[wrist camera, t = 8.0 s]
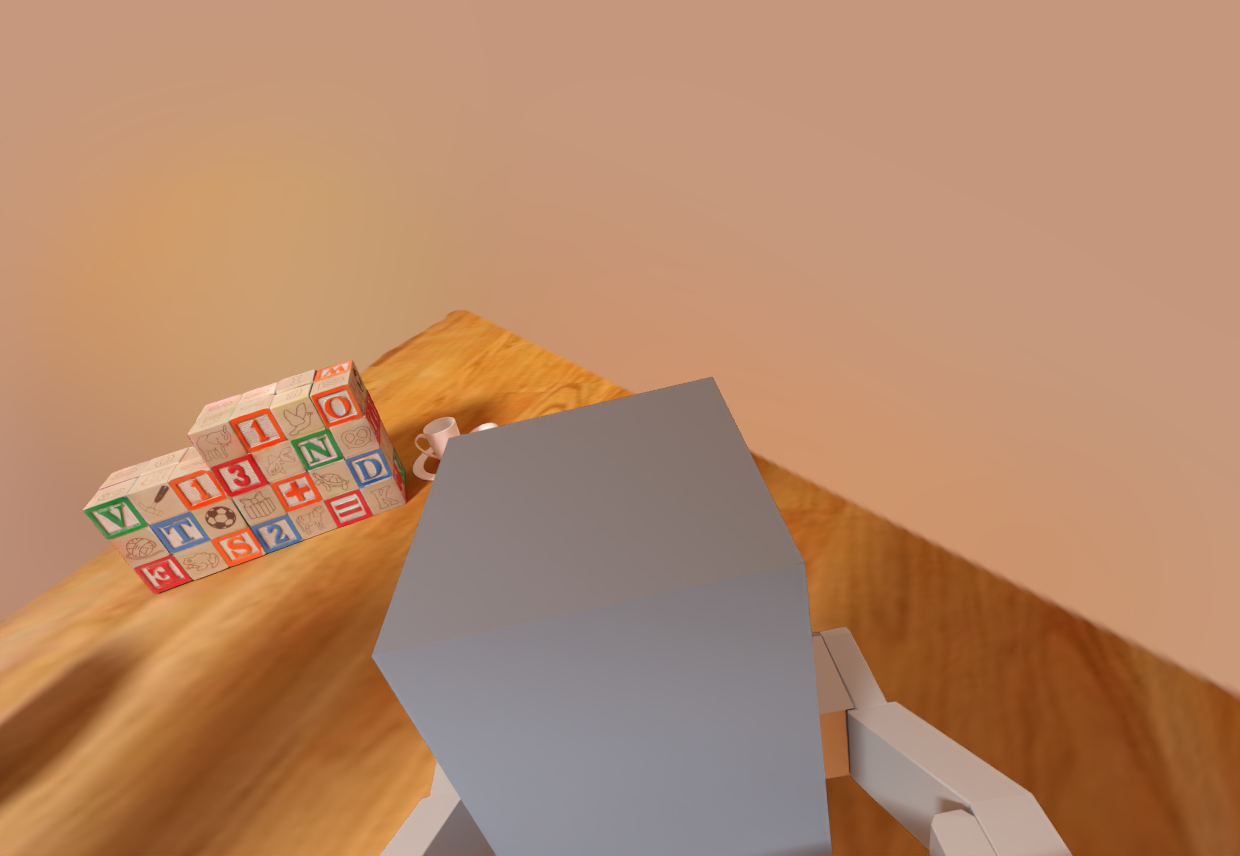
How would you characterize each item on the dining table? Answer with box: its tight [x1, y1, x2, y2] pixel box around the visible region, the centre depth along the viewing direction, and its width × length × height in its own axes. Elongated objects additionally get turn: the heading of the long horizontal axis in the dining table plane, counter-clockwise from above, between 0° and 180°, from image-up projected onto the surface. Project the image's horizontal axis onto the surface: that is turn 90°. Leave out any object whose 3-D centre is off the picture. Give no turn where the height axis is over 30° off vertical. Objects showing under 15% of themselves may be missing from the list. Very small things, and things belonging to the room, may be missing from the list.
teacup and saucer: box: [413, 417, 498, 480], centre depth 59 cm, size 9×8×4 cm
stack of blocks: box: [83, 360, 407, 594], centre depth 52 cm, size 21×6×12 cm, turn 109°
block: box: [371, 377, 832, 856], centre depth 11 cm, size 4×4×12 cm
